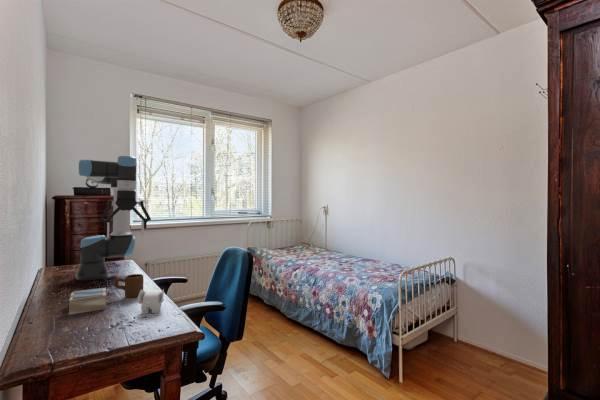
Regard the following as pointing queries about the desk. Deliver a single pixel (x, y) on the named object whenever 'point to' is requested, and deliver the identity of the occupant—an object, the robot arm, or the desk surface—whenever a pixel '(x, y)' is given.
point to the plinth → (87, 300)
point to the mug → (131, 285)
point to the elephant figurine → (150, 301)
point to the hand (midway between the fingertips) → (125, 236)
